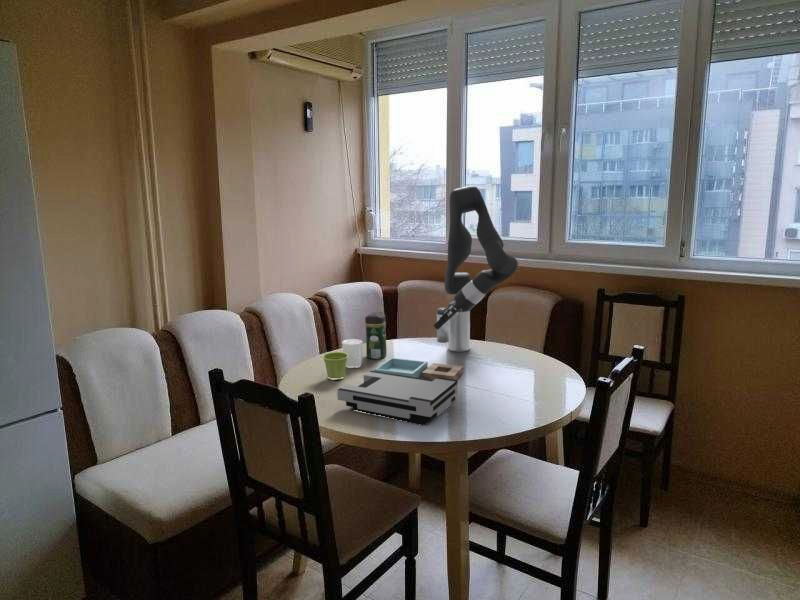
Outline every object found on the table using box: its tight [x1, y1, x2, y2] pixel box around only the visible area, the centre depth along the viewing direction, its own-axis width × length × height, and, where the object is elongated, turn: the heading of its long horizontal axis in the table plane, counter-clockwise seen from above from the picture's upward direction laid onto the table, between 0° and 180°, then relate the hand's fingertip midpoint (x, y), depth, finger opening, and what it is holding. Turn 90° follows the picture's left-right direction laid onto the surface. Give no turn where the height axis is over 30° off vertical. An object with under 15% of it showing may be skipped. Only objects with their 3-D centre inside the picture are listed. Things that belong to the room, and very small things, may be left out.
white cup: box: [341, 338, 363, 366], centre depth 216 cm, size 8×8×10 cm
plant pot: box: [322, 351, 348, 378], centre depth 202 cm, size 9×9×9 cm
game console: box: [336, 370, 458, 426], centre depth 174 cm, size 21×32×8 cm, turn 62°
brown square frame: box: [421, 362, 464, 380], centre depth 203 cm, size 12×12×2 cm
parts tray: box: [373, 357, 429, 378], centre depth 204 cm, size 15×15×4 cm
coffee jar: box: [364, 311, 388, 359], centre depth 227 cm, size 10×8×19 cm
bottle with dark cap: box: [436, 307, 449, 344], centre depth 200 cm, size 5×5×12 cm
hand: (438, 325), depth 200 cm, fingers closed on bottle with dark cap, 4 cm apart
